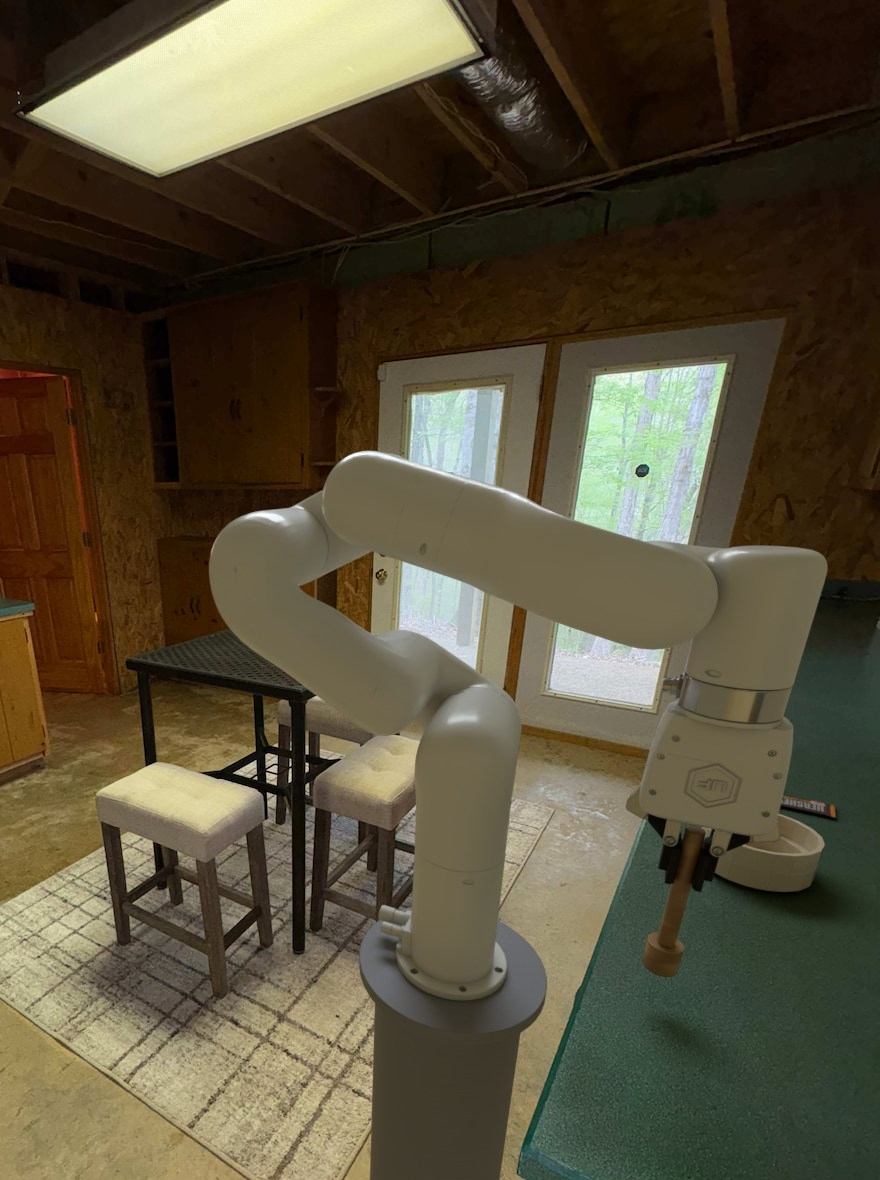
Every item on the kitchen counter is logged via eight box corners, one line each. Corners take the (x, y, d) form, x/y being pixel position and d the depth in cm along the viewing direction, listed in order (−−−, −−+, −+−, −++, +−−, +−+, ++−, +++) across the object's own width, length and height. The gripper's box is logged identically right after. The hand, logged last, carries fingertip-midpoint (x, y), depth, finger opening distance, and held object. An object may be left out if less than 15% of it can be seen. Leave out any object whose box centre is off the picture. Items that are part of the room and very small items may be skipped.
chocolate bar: (834, 807, 100) (835, 803, 100) (835, 819, 97) (836, 815, 96) (750, 790, 106) (751, 786, 106) (748, 801, 103) (749, 797, 103)
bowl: (694, 878, 84) (704, 839, 82) (693, 833, 94) (701, 798, 92) (819, 907, 78) (833, 866, 75) (803, 856, 88) (815, 818, 86)
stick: (640, 970, 63) (675, 833, 57) (642, 951, 66) (675, 818, 60) (677, 981, 62) (717, 842, 56) (677, 961, 64) (715, 826, 58)
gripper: (623, 697, 54) (587, 876, 60) (862, 728, 46) (790, 930, 53) (629, 675, 60) (596, 841, 66) (841, 699, 52) (779, 884, 59)
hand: (682, 879), depth 60 cm, fingers closed on stick
